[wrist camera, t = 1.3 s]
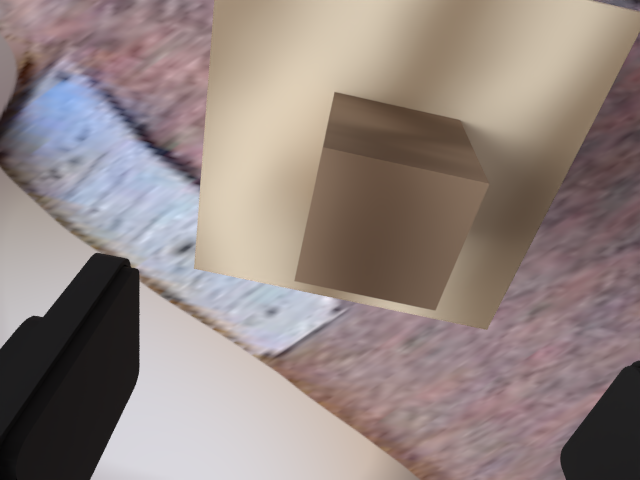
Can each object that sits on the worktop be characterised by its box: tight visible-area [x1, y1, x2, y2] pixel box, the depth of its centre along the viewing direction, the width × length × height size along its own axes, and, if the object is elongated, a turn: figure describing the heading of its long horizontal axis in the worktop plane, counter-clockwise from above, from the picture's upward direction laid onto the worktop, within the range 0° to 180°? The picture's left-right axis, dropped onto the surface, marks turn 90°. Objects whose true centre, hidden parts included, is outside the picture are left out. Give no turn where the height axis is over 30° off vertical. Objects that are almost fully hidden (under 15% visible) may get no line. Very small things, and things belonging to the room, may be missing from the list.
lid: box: [194, 0, 640, 330], centre depth 17 cm, size 13×13×7 cm
